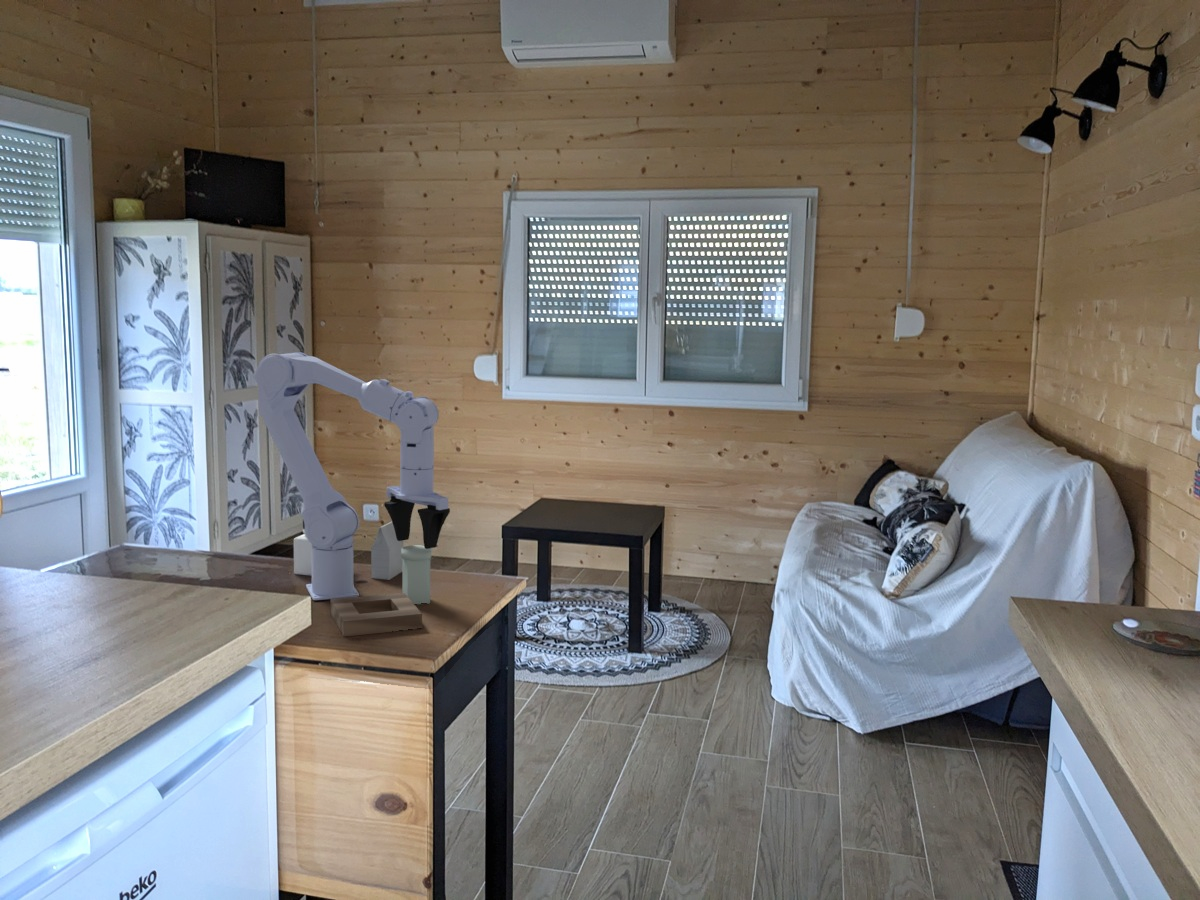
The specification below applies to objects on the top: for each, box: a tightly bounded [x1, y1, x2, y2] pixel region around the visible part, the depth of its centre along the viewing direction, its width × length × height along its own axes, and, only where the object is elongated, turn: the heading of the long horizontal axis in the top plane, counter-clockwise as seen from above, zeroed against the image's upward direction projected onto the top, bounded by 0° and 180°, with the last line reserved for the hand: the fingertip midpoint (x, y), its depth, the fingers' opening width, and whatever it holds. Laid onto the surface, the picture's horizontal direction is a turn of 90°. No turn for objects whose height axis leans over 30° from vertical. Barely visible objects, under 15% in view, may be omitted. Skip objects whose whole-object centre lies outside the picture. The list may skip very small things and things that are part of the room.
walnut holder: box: [330, 592, 423, 637], centre depth 164 cm, size 12×12×2 cm
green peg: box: [401, 544, 432, 605], centre depth 175 cm, size 5×5×10 cm
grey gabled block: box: [370, 521, 405, 580], centre depth 192 cm, size 4×7×10 cm, turn 168°
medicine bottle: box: [293, 519, 312, 577], centre depth 192 cm, size 7×7×12 cm
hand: (416, 543), depth 174 cm, fingers open, 7 cm apart
